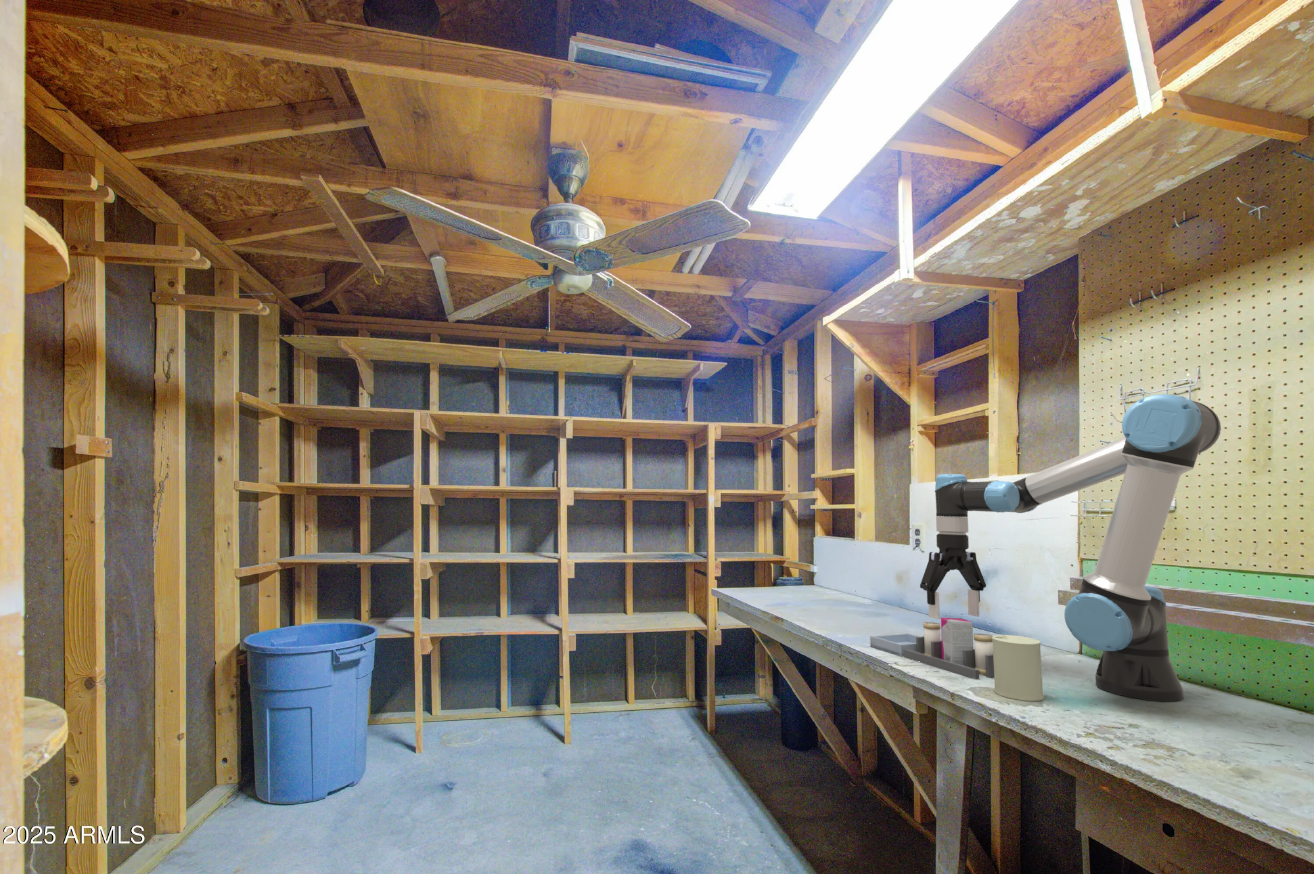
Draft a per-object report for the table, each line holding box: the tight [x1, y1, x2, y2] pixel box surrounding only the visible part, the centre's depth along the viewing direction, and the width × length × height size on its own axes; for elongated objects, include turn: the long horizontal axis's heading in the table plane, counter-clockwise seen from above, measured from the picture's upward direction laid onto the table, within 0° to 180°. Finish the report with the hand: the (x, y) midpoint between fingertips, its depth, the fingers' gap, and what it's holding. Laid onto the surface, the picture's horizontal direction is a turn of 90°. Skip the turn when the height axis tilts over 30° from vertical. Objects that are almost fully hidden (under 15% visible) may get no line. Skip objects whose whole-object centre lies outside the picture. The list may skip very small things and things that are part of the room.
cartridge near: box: [973, 632, 993, 676], centre depth 147 cm, size 4×4×9 cm
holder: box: [903, 635, 994, 680], centre depth 154 cm, size 22×14×5 cm, turn 22°
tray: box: [869, 632, 921, 658], centre depth 171 cm, size 12×14×3 cm
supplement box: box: [940, 617, 974, 665], centre depth 155 cm, size 6×6×12 cm
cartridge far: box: [922, 621, 941, 656], centre depth 162 cm, size 4×4×9 cm
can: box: [992, 634, 1045, 702], centre depth 130 cm, size 9×9×12 cm
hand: (954, 616), depth 156 cm, fingers open, 13 cm apart
